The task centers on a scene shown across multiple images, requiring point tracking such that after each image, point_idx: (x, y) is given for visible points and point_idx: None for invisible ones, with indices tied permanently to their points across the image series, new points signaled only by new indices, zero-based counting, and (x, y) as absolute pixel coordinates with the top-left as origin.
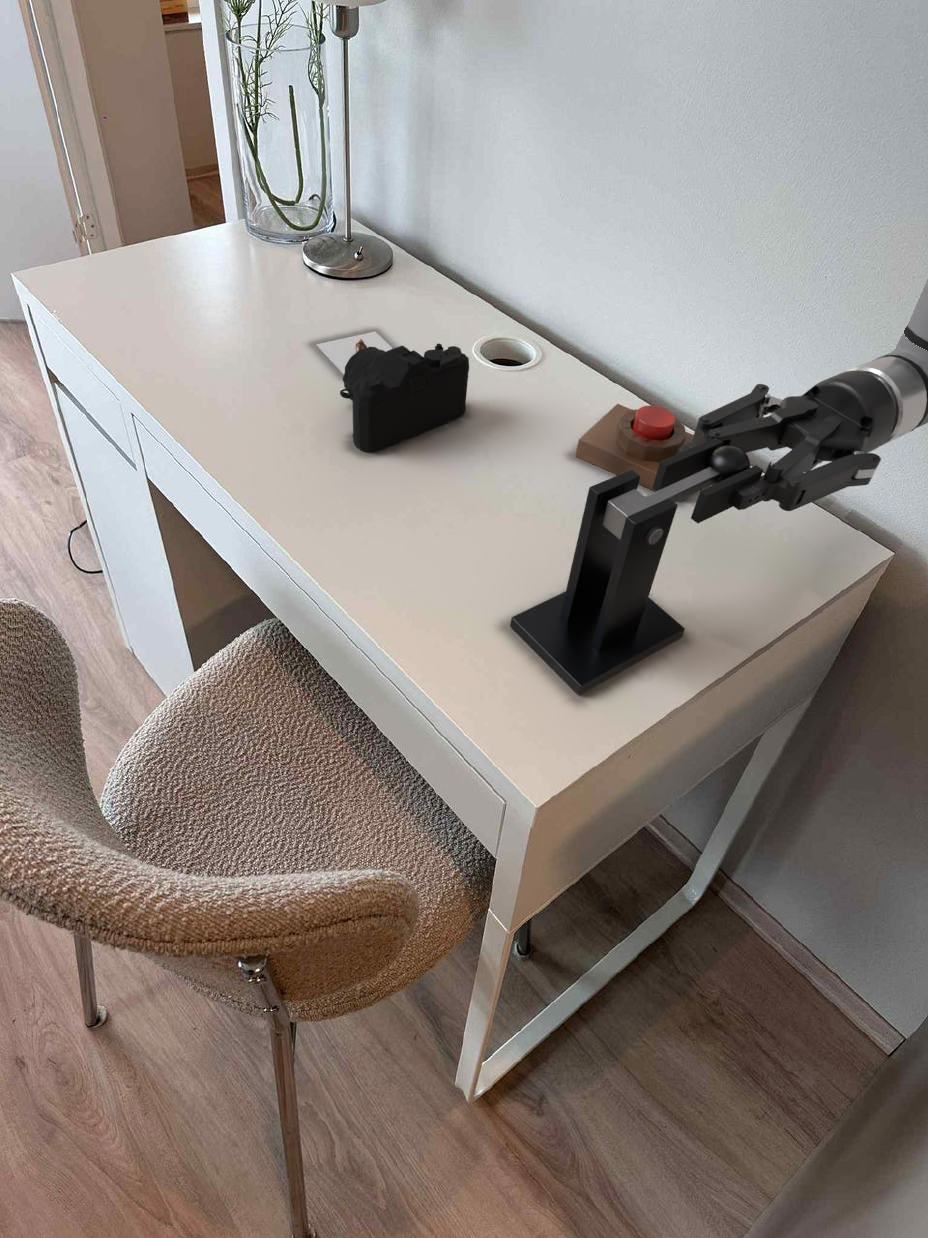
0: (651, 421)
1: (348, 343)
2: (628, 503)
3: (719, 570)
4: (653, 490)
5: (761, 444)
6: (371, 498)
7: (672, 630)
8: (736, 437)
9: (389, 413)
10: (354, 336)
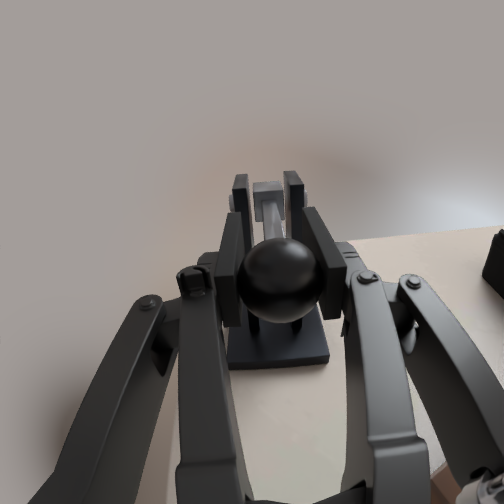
0: None
1: None
2: (267, 185)
3: (282, 468)
4: (443, 463)
5: (350, 431)
6: (441, 266)
7: (231, 352)
8: (354, 321)
9: (497, 258)
10: None
